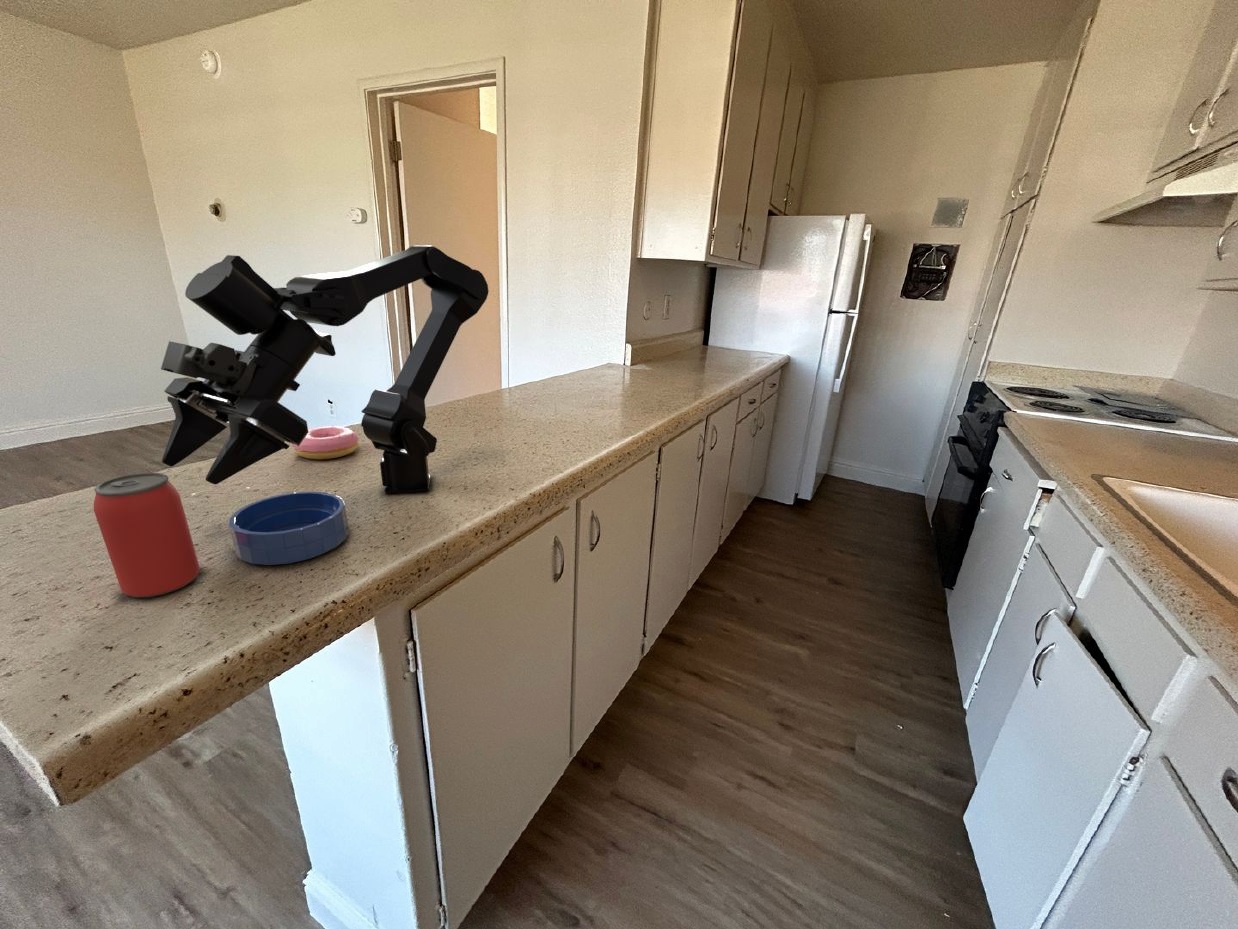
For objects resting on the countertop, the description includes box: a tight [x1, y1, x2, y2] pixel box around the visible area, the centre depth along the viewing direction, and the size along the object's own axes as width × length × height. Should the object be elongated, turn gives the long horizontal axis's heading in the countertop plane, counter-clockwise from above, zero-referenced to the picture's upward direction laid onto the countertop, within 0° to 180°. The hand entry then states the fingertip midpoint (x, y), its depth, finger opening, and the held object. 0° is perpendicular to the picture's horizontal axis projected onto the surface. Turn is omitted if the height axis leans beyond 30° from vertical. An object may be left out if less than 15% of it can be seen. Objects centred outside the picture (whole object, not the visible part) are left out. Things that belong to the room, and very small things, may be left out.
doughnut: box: [292, 425, 360, 460], centre depth 96 cm, size 11×11×4 cm
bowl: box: [228, 491, 350, 566], centre depth 64 cm, size 12×12×4 cm
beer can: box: [93, 471, 201, 598], centre depth 54 cm, size 7×7×12 cm
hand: (187, 473), depth 56 cm, fingers open, 9 cm apart
